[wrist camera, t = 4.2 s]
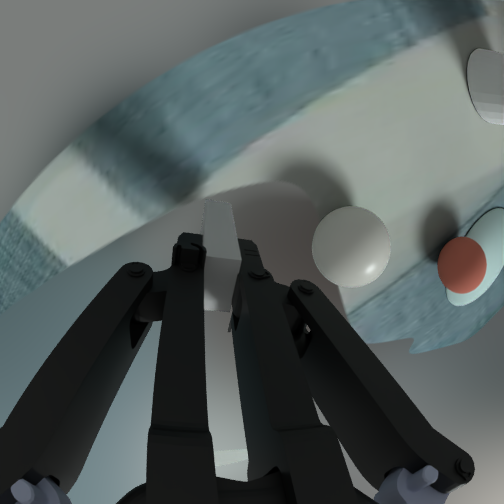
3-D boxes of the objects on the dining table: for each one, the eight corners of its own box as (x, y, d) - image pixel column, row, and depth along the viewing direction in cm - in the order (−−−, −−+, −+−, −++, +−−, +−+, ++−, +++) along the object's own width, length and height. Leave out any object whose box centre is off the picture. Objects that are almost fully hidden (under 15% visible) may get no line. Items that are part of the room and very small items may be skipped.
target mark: (505, 184, 21) (506, 185, 20) (514, 253, 27) (515, 254, 27) (433, 268, 25) (434, 269, 24) (456, 319, 31) (457, 320, 30)
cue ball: (342, 179, 19) (382, 208, 14) (378, 227, 21) (417, 263, 16) (287, 232, 20) (310, 275, 15) (329, 272, 23) (357, 316, 18)
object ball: (456, 216, 22) (493, 243, 17) (467, 248, 24) (498, 275, 19) (420, 254, 23) (455, 287, 19) (435, 282, 26) (464, 313, 21)
